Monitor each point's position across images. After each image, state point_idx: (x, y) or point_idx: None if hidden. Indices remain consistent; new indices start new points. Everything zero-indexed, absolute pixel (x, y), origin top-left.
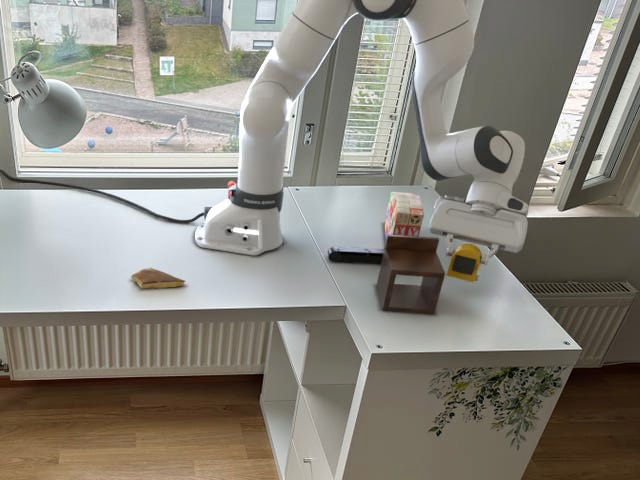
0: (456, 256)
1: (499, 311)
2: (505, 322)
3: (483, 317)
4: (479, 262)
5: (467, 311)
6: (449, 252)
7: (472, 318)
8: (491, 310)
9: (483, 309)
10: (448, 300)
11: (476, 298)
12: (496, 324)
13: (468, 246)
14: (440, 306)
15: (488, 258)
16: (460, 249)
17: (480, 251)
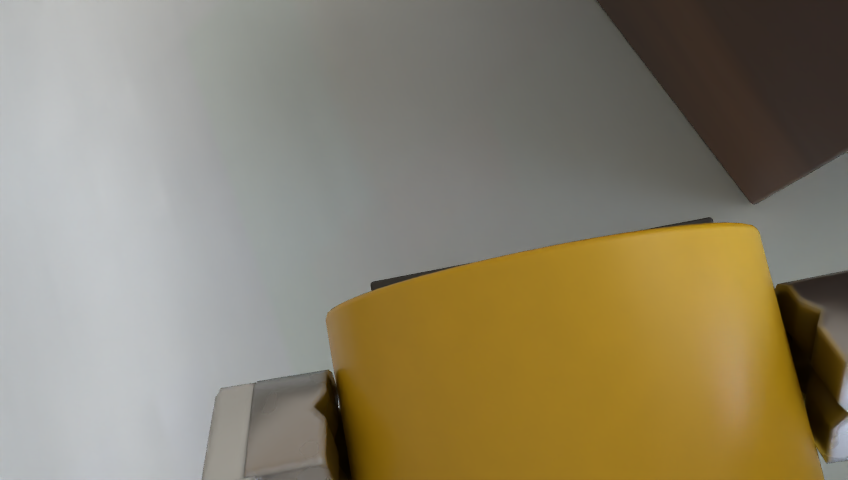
0: (688, 222)
1: (90, 286)
2: (3, 140)
3: (169, 95)
4: (326, 320)
5: (306, 99)
6: (846, 275)
7: (235, 20)
8: (151, 255)
9: (211, 224)
10: (504, 168)
11: None
12: (54, 61)
13: (633, 425)
14: (513, 24)
15: (212, 435)
16: (711, 263)
17: None
